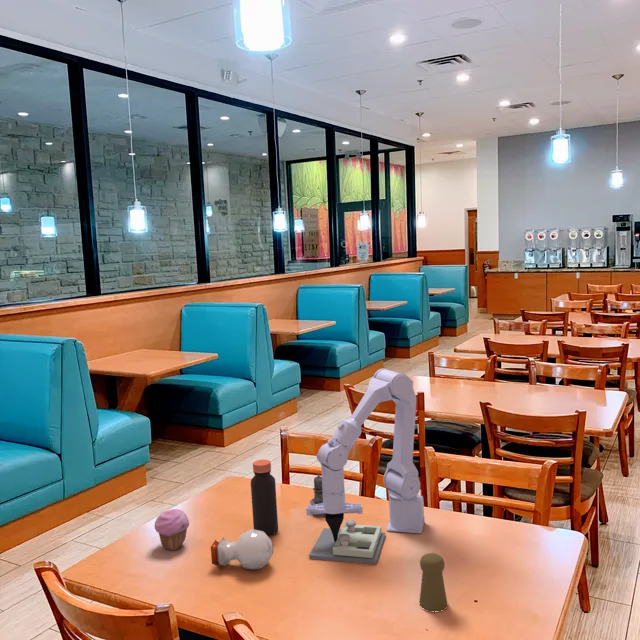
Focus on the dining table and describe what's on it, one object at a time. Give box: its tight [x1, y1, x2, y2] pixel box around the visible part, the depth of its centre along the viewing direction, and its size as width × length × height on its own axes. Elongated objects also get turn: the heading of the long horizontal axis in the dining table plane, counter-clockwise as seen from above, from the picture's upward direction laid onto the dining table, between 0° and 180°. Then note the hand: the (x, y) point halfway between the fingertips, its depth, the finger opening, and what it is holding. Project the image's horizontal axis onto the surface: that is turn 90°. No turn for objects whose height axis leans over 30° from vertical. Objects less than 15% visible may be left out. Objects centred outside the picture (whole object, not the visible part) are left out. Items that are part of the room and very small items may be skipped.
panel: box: [333, 523, 382, 558], centre depth 160 cm, size 10×14×2 cm
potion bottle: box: [210, 528, 274, 571], centre depth 153 cm, size 9×10×15 cm
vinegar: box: [250, 459, 279, 537], centre depth 171 cm, size 7×7×20 cm
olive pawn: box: [419, 552, 448, 613], centre depth 133 cm, size 6×6×11 cm
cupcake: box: [154, 508, 190, 551], centre depth 166 cm, size 9×9×10 cm
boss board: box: [308, 519, 386, 565], centre depth 161 cm, size 17×15×5 cm
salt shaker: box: [309, 473, 325, 518], centre depth 182 cm, size 6×6×12 cm
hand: (335, 539), depth 162 cm, fingers closed
